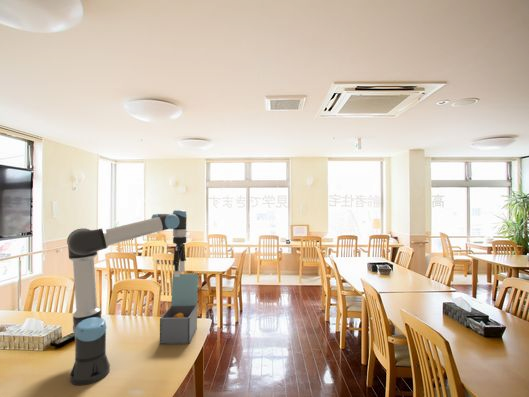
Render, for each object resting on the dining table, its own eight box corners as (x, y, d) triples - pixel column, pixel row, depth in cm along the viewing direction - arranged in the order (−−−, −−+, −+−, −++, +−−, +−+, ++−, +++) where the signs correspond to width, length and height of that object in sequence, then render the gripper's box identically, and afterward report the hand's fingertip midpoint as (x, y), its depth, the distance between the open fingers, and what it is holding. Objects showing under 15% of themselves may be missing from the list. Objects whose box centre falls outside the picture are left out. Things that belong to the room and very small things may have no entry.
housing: (189, 343, 154) (189, 318, 154) (159, 344, 153) (159, 318, 154) (196, 328, 174) (197, 305, 174) (170, 328, 173) (171, 305, 174)
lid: (198, 273, 178) (198, 273, 179) (172, 274, 178) (173, 273, 178) (196, 305, 174) (197, 305, 175) (171, 305, 174) (171, 305, 175)
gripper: (180, 238, 154) (180, 279, 153) (190, 234, 177) (190, 269, 176) (167, 238, 154) (166, 279, 153) (178, 234, 177) (178, 270, 176)
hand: (179, 274), depth 165 cm, fingers open, 10 cm apart
